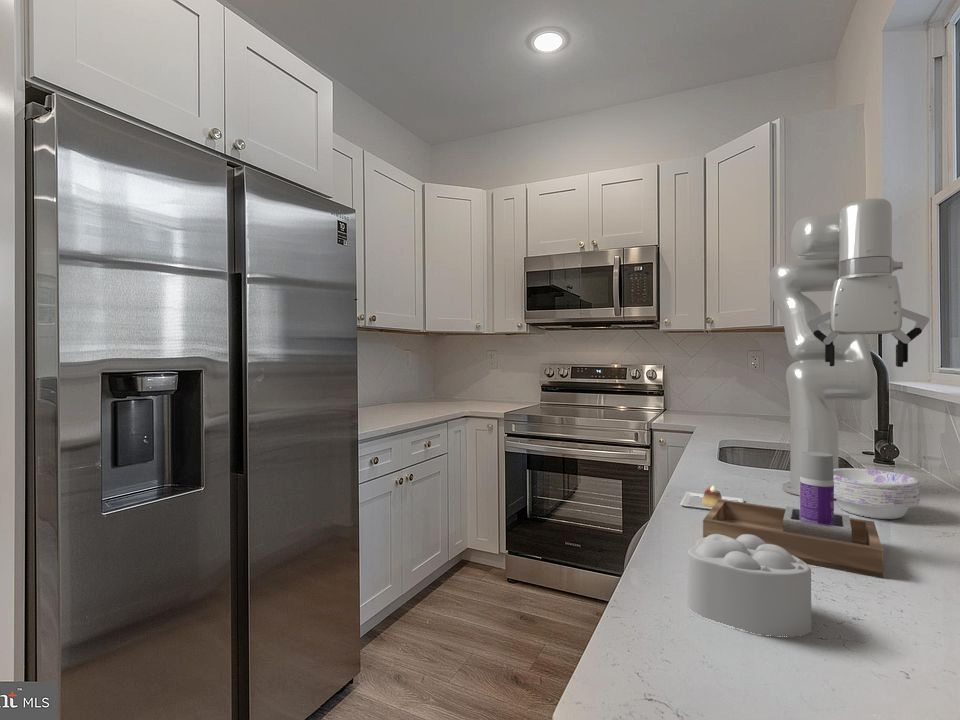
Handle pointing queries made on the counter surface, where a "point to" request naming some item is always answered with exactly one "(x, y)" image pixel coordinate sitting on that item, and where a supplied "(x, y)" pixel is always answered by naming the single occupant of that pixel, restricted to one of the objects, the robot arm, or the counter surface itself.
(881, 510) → the paper bowls
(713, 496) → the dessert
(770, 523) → the walled tray
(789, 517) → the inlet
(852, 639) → the counter surface
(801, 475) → the container
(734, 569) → the lumpy-topped squat cylinder
